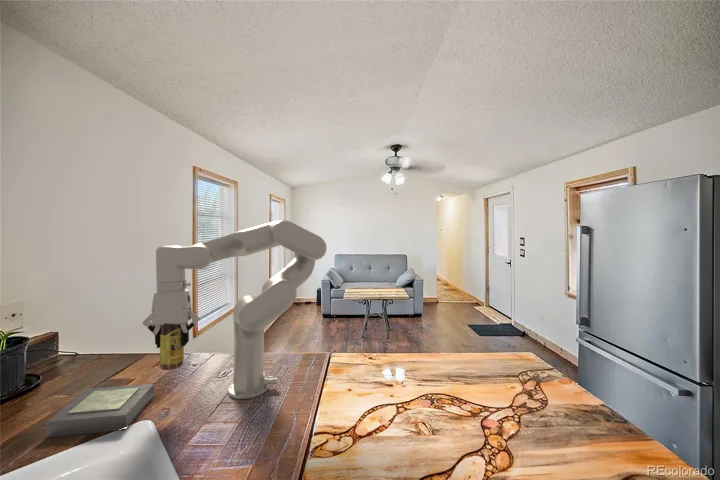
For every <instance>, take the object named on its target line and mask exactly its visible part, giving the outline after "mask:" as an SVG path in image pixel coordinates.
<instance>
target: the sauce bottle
mask: <svg viewBox="0 0 720 480" xmlns="http://www.w3.org/2000/svg"><path fill="white" fill-rule="evenodd" d="M160 331H161V333H160V348H159V364H160V366H159V367H160V369H161V370H162V371H171V370H175V369H178V368H181V367H182V366H183V364H184V360H185V359H184V357H185V356H184V355H185V354H184V353H185V352H184V351H185V350H184V347H185V346H182V339H181V334H182V333H183V330H182V328H181V326H180V324H179V325H177V324H167V323H164V325H161V330H160Z"/></svg>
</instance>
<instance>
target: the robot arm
mask: <svg viewBox="0 0 720 480" xmlns="http://www.w3.org/2000/svg"><path fill="white" fill-rule="evenodd" d="M280 246H281V247H283V248H285V249H287V250H289V251H291V252H294V256H293V258H292V260H291V261H290V262H289V263H288V264H287V265H286V266H284V267H283V268H282V269H281V270H279V271H278V272H277V273H276V274H274V275H273V276H271V277H270V278H268V279H267V280H266V281H265V282H264V283H263V285H262V287H261V288H262V289H261V293H260V294H258V295H257V296H255V295H252V294H251V295H248V294H247V295H245V296H242V297H240V298H239V299H238V300H236V303H235V304H234V307H233V314H232V317H233V319H232V320H233V380H232V381H233V382H232V384H231V385H230V386H229V387H228V390H227V392H228V395H229V396H230V397H231V398H234V399H238V400H239V399H241V400H247V399H253V398H256V397H259V396H261V395H263V394H264V393H266V392H267V390H268V389H269V385H278V378H277V377H275V378H274V376H275V375H269V376H268V375H266V373H265V371H264V362H265V361H264V359H265V358H264V353H265V352H264V351H265V348H264V347H265V345H264V344H265V328H266V327H268V326H269V325H270V324H271V323H273V322H274V321H275V320H277V318H279V317H281V316H282V314H284V312H286V311H287V310H288V309H289V308H291V307H292V305H293V304H294V302H295V300H296V299H297V293H298V292H297V289H298V288H299V287H300V286H301V285H302V284H304V283H305V282H306V281H307V280H308V279H309V278H310V277H311V275H312V274H313V271H314V269H315V264H316V261H318V260H320V259H322V258H323V257H324V256H325V254H326V252H327V244H326V241H325V240H324V238H322V237H321V236H319V235H317V234H316V233H314V232H312V231H310V230H307V229H305V228H303V227H302V226H300V225H298V224H296V223H293V222H292V221H290V220H286V219H282V220H280V219H279V220H275V221H271V222H268V223H264V224H260V225H257V226H253V227H249V228H245V229H242V230H239V231H236V232H233V233H230V234H227V235H224V236H219V237H216V238H213V239H210V240H205V241H202V242H199V243H195V244H192V245H191V246H190V245H187V246H181V245H161V246H159V247H157V248H156V249H155V266H156V267H155V268H156V269H155V270H156V271H155V272H156V274H155V275H156V291H154V293H153V298H152V302H151V313H150V315H148V316H147V317H146V318H145V319H144V320H143V321H142V325H143V326H145V327H146V328H147V329H148V330H149V331H150V332H151V333H152V334H153V335H154V345H156V349H160V333H161V331H160V330H161V325H164V323H167V324H177V325H179V324H180V326H181V328H182V330H183V333H182V334H181V339H182V346H184V347H186V346H187V344H188V343H189V342H190V332H189V331H190V330H191V329H192V328H193V327H194V326H195V325H197V323H198V322H200V321H201V317H199V316H198V315H197V314H196V313H195V312H193V311H192V310H193V309H192V302H191V295H190V291H189V289H187V288H188V287H191V282H189V281H187V279H186V270H203V269H206V268H208V267H209V266H210V265H211V264H213V263H215V262H219V261H221V260H224V259H225V260H226V259H230V258H234V257H236V258H237V257H247V256H250V255H253V254H257V253H260V252H263V251H267V250H269V249H273V248H275V247H280ZM191 319H192V321H191V322H190V323H188V322H189V321H190V320H191Z"/></svg>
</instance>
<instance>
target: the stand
mask: <svg viewBox="0 0 720 480" xmlns="http://www.w3.org/2000/svg"><path fill="white" fill-rule="evenodd" d="M154 391H155V384H154V383H148V384H133V385H121V386H107V387H93V388H88V389H87V390H85V391H84V392H83V393H81V394H79V396H77V397H76V398H75V399H74V400H72V401H71V402H70V403H68V404H67V405H66V406H64V407H63V408H62V409H61V410H59V411H58V412H57V413H56V414H55V415H53V416H51V418H49V419H47V420H46V421H45V438H55V437H66V436H74V435H76V436H77V435H86V434H87V435H88V434H97V433H105V432H106V433H108V432H117V431H116V430H118V431H120V430H119V429H122V428H124V427H127V426H129V425H130V426H131V425H132V423H133V422H134V421H135V420H136V418H138V416H139V415H140V413H142V411H143V410H144V409H145V407H146V406H147V405H148V404H149V403H150V401H151V400H152V399H153V398H154V397H155V392H154ZM134 419H135V420H134ZM130 426H129V427H130Z"/></svg>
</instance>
